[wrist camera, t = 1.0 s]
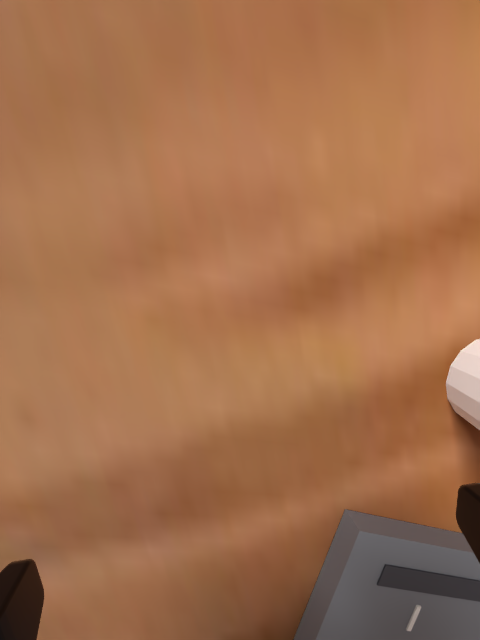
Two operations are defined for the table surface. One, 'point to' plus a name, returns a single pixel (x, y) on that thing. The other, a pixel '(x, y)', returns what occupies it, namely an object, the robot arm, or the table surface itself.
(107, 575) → the table surface
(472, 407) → the white cup
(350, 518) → the console
